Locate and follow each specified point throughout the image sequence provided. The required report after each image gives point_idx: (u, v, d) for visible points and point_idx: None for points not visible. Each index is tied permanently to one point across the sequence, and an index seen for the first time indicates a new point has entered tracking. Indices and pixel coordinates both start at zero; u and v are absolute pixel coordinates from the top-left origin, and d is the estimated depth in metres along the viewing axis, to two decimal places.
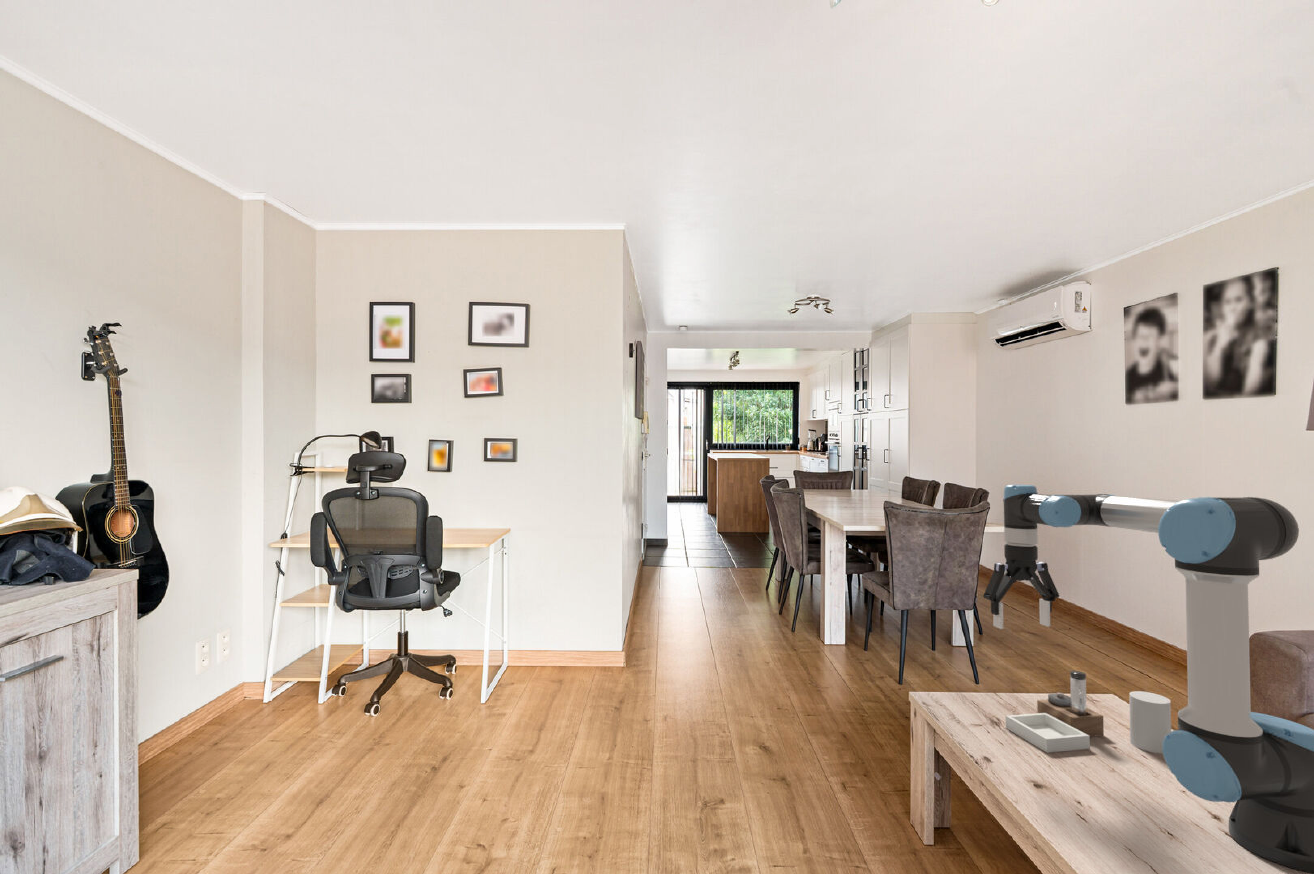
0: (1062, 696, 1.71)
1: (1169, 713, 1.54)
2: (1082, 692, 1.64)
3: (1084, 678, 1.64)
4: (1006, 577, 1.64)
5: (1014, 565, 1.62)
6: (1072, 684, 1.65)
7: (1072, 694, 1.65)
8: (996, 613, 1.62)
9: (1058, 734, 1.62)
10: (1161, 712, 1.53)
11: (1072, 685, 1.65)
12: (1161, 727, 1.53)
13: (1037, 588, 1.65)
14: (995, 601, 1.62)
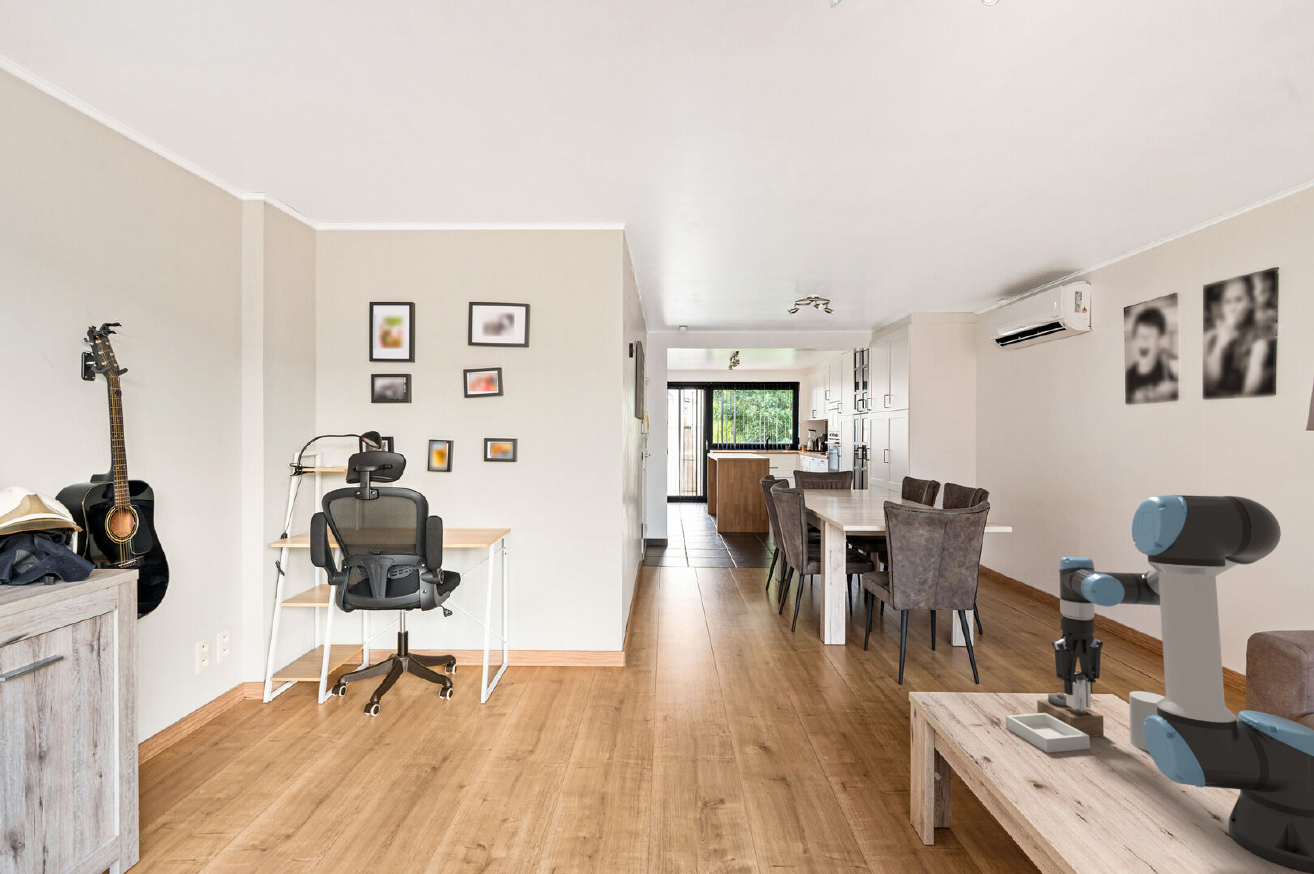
0: (1062, 696, 1.71)
1: None
2: (1082, 692, 1.64)
3: (1084, 678, 1.64)
4: (1068, 653, 1.66)
5: (1070, 637, 1.64)
6: None
7: None
8: (1070, 693, 1.64)
9: (1058, 734, 1.62)
10: None
11: None
12: None
13: (1082, 664, 1.66)
14: (1068, 682, 1.64)
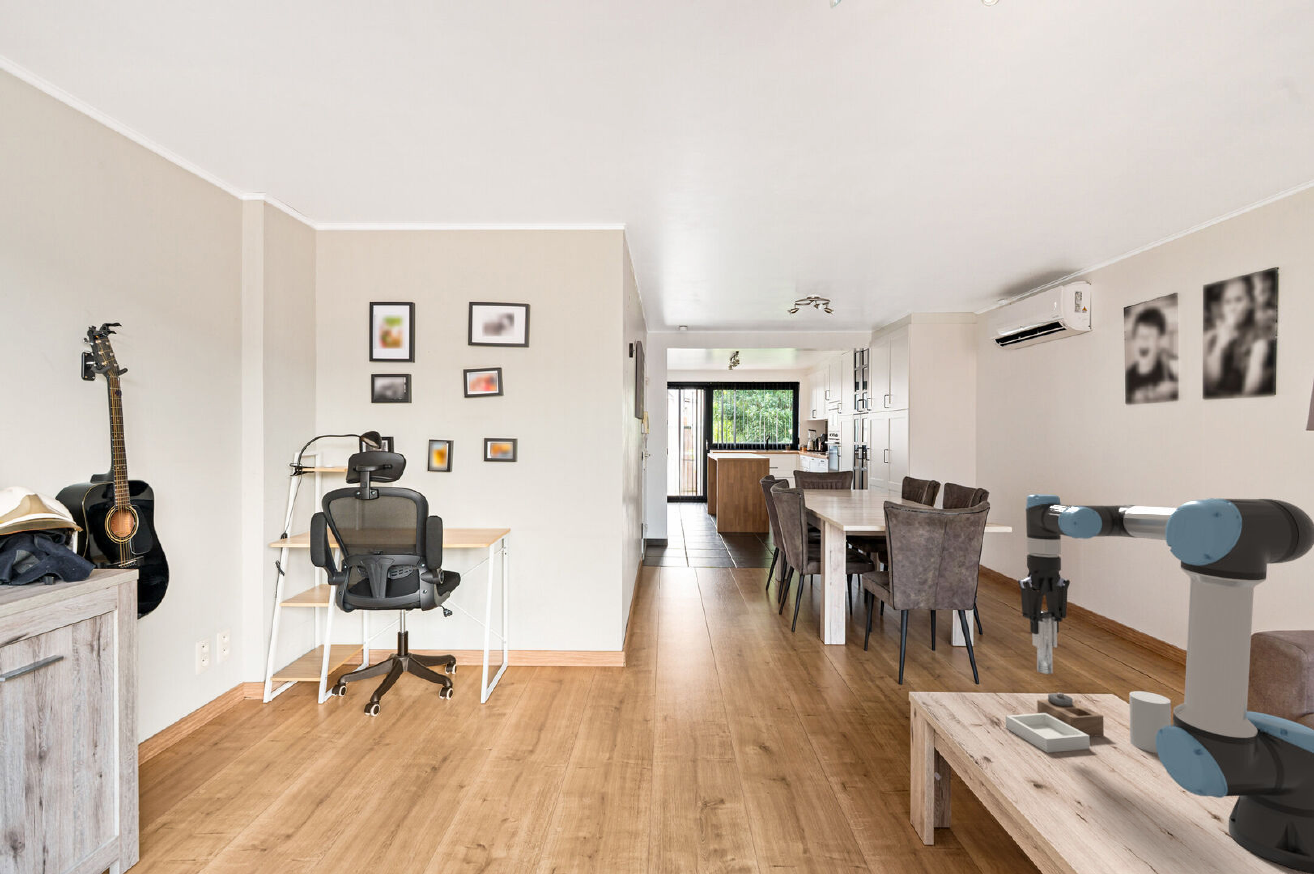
0: (1062, 696, 1.71)
1: (1169, 713, 1.54)
2: (1048, 631, 1.61)
3: (1050, 617, 1.61)
4: (1034, 592, 1.62)
5: (1036, 575, 1.61)
6: None
7: None
8: (1036, 632, 1.61)
9: (1058, 734, 1.62)
10: (1161, 712, 1.53)
11: None
12: (1161, 727, 1.53)
13: (1049, 604, 1.63)
14: (1034, 620, 1.61)
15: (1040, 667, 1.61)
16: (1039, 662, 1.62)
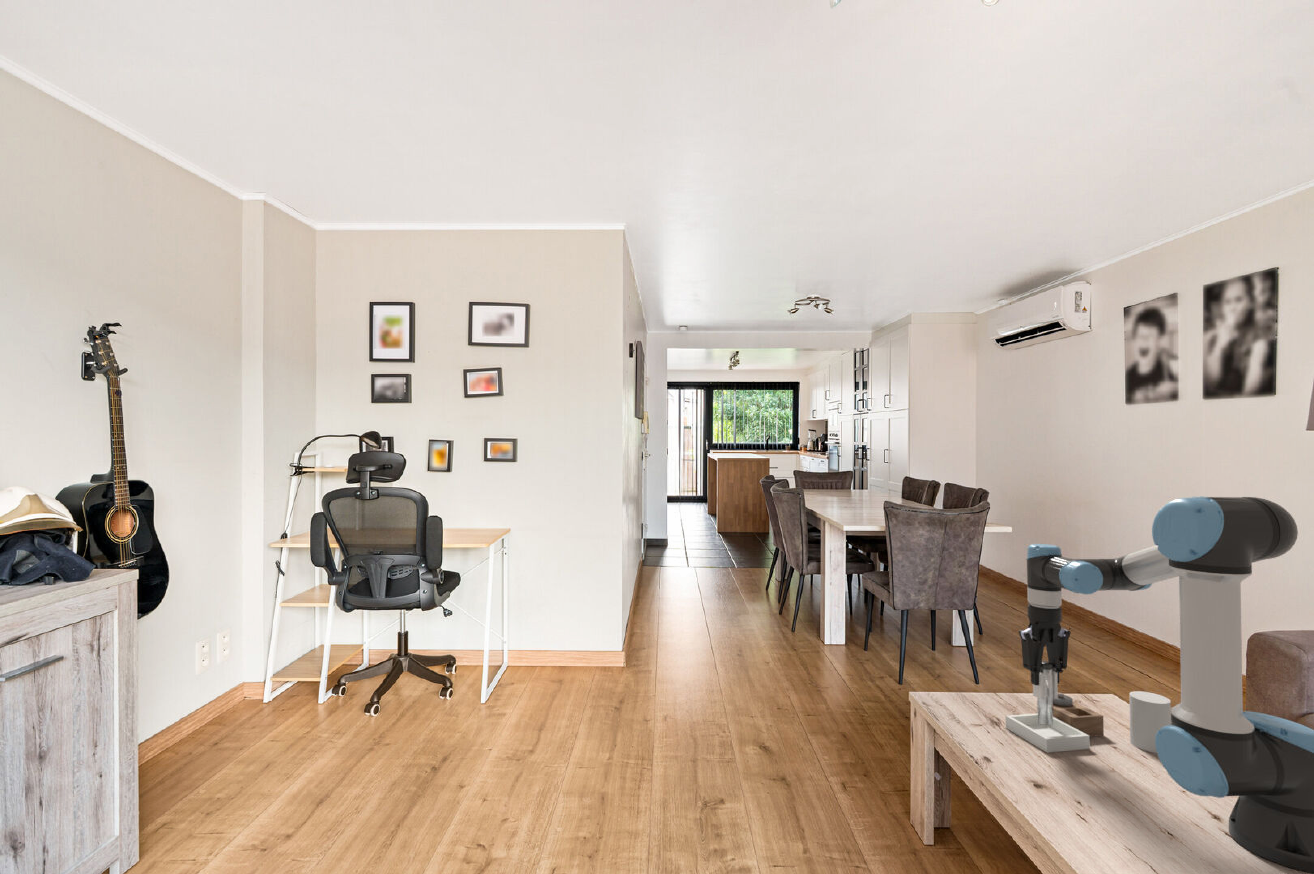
0: (1062, 696, 1.71)
1: (1169, 713, 1.54)
2: (1049, 682, 1.60)
3: (1051, 668, 1.60)
4: (1035, 642, 1.62)
5: (1037, 627, 1.61)
6: None
7: None
8: (1036, 683, 1.61)
9: (1058, 734, 1.62)
10: (1161, 712, 1.53)
11: None
12: (1161, 727, 1.53)
13: (1050, 654, 1.63)
14: (1035, 672, 1.61)
15: (1041, 718, 1.61)
16: (1040, 713, 1.61)
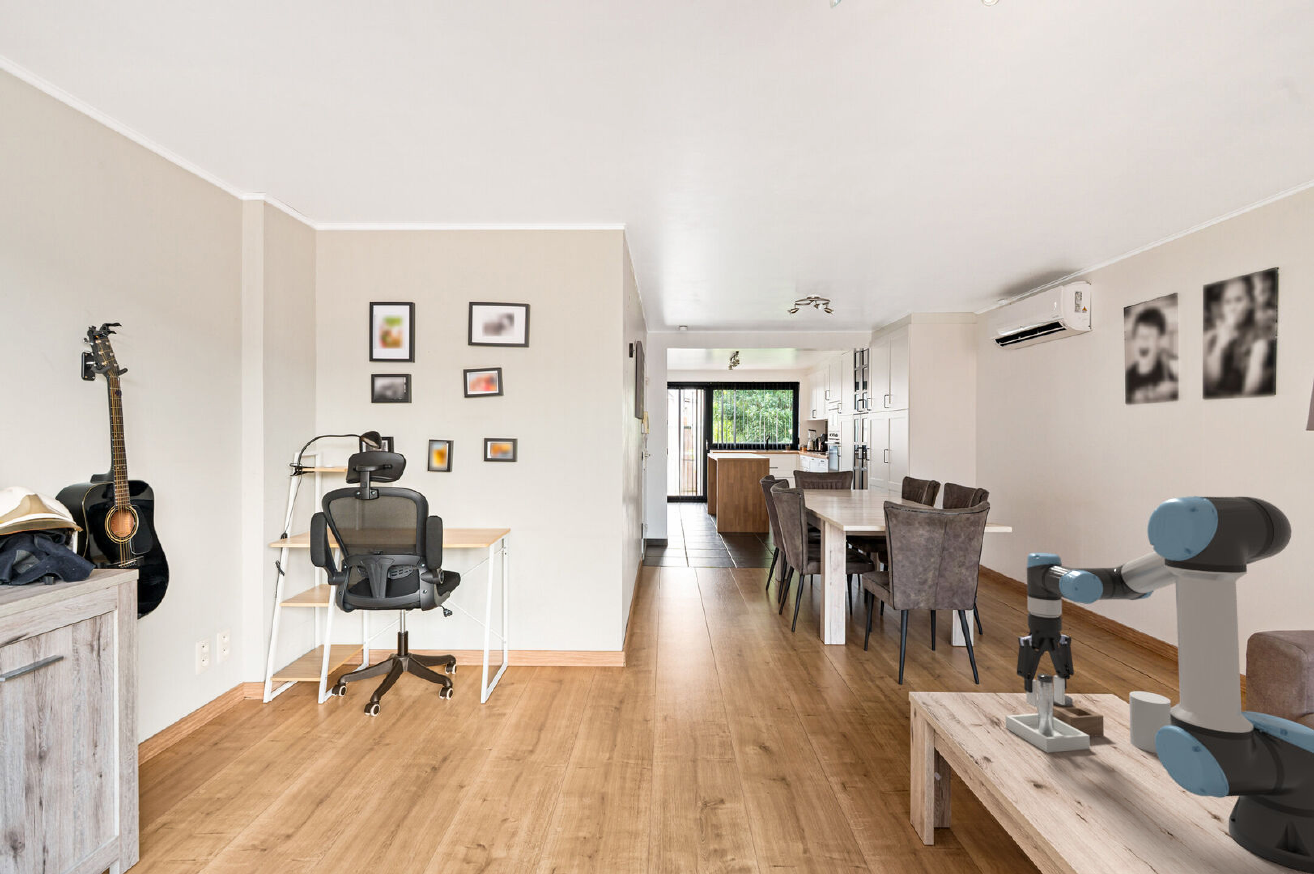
0: None
1: (1169, 713, 1.54)
2: (1049, 695, 1.60)
3: (1051, 681, 1.60)
4: (1033, 650, 1.62)
5: (1037, 636, 1.61)
6: (1039, 687, 1.61)
7: (1039, 697, 1.61)
8: (1030, 691, 1.60)
9: (1058, 734, 1.62)
10: (1161, 712, 1.53)
11: (1039, 688, 1.61)
12: (1161, 727, 1.53)
13: (1054, 662, 1.63)
14: (1028, 679, 1.60)
15: (1041, 731, 1.61)
16: (1040, 726, 1.61)
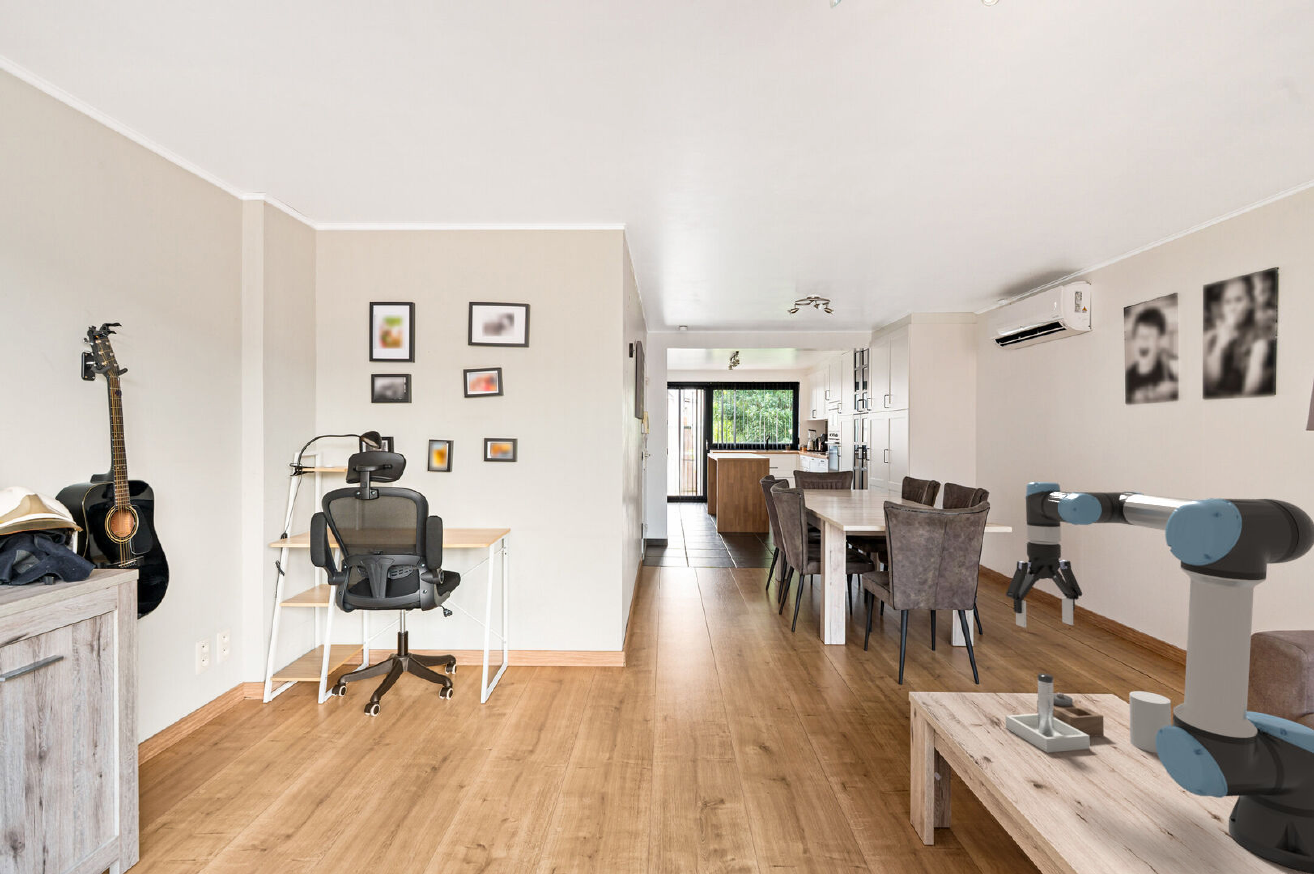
0: (1062, 696, 1.71)
1: (1169, 713, 1.54)
2: (1049, 695, 1.60)
3: (1051, 681, 1.60)
4: (1029, 575, 1.62)
5: (1037, 563, 1.61)
6: (1039, 687, 1.62)
7: (1039, 697, 1.61)
8: (1019, 611, 1.60)
9: (1058, 734, 1.62)
10: (1161, 712, 1.53)
11: (1039, 688, 1.62)
12: (1161, 727, 1.53)
13: (1060, 586, 1.64)
14: (1018, 600, 1.60)
15: (1041, 731, 1.61)
16: (1040, 726, 1.61)
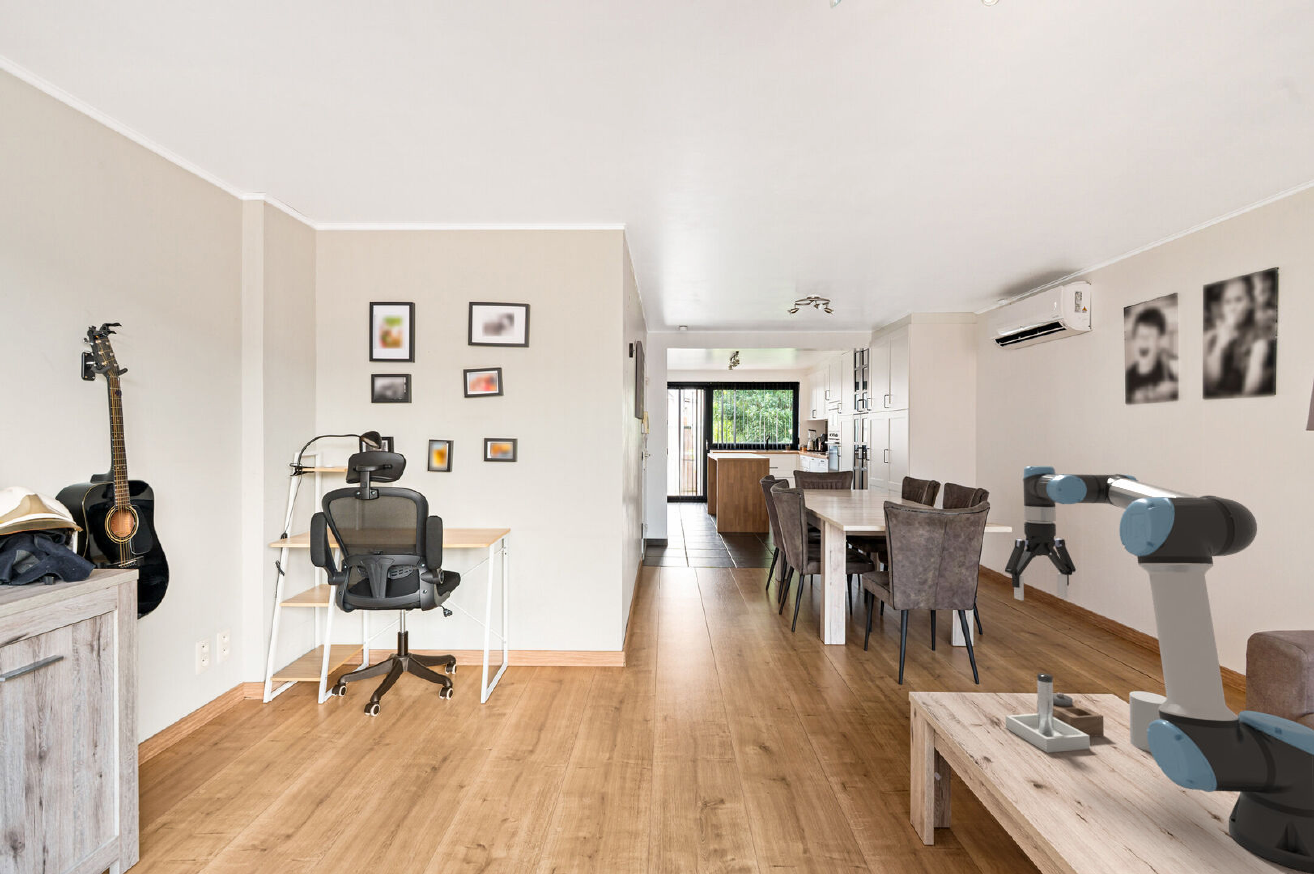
0: (1062, 696, 1.71)
1: None
2: (1049, 695, 1.60)
3: (1051, 681, 1.60)
4: (1026, 552, 1.75)
5: (1034, 541, 1.73)
6: (1039, 687, 1.62)
7: (1039, 697, 1.62)
8: (1017, 586, 1.73)
9: (1058, 734, 1.62)
10: None
11: (1039, 688, 1.62)
12: None
13: (1055, 563, 1.76)
14: (1016, 575, 1.73)
15: (1041, 731, 1.61)
16: (1040, 726, 1.61)
